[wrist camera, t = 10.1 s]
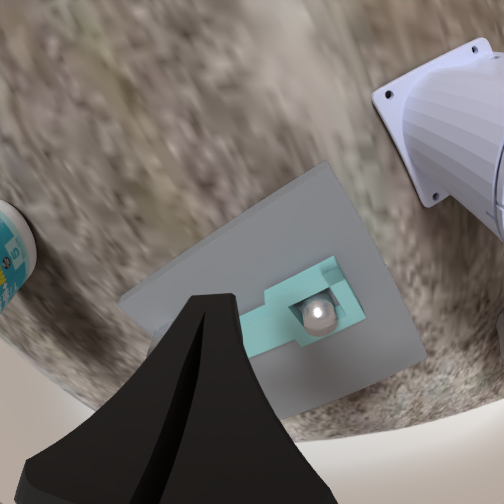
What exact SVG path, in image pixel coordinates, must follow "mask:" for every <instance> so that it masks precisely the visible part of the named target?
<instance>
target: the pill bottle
mask: <svg viewBox="0 0 504 504" xmlns="http://www.w3.org/2000/svg"><path fill="white" fill-rule="evenodd" d="M36 258H37V253H36V245H35V241H34V237H33V235H32V232H31V230H30V228H29V226H28V224H27V222H26V221H25V219H24V218H23V217H22V215H21V214H20V213H19V212H18V211H17V210H16V209H15V208H14V207H13V206H11V205H10V204H9V203H7V202H5V201H3V200H0V314H1V312H2V311H3V310H4V308H5V307H6V305H7V304H8V303H9V302H10V300H11V299H12V298H13V296H14V295H15V294H16V292H17V291H18V290H19V289H20V287H21V286H22V285H23V284H24V283H25V281H26V280H27V279H28V278H29V276H30V275H31V274H32V272H33V270H34V268H35V264H36Z"/></svg>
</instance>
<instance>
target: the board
mask: <svg viewBox="0 0 504 504" xmlns="http://www.w3.org/2000/svg"><path fill="white" fill-rule="evenodd" d="M332 256H334V257H335V259H336V260H337V262H338V264H339V266H340V267H341V269H342V271H343V273H344V274H345V276H346V278H347V280H348V281H349V283H350V285H351V287H352V289H353V290H354V292H355V294H356V296H357V298H358V299H359V301H360V303H361V305H362V307H363V310H364V313H365V316H366V319H363V320H361V321H359V322H357V323H355V324H353V325H351V326H349V327H347V328H344V329H342V330H340V331H338V332H336V333H333V334H331V335H329V336H327V337H324V338H322V339H320V340H317V341H315V342H313V343H310V344H308V345H306V346H303V347H301V346H300V345H299V343H298V342H297V341H296V340H295V339H294V340H292V341H289V342H287V343H285V344H282V345H280V346H277V347H275V348H273V349H270V350H268V351H265V352H263V353H260V354H258V355H255V356H252V357H250V358H248V359H249V361H250V363H251V366H252V368H253V371H254V373H255V375H256V377H257V380H258V382H259V384H260V386H261V388H262V390H263V392H264V394H265V396H266V398H267V400H268V401H269V403H270V405H271V407H272V409H273V410H274V412H275V414H276V416H277V417H278V419H279V420H281V419H284V418H287V417H290V416H293V415H296V414H299V413H302V412H305V411H308V410H310V409H313V408H316V407H319V406H321V405H324V404H327V403H329V402H332V401H334V400H337V399H339V398H342V397H344V396H347V395H349V394H352V393H354V392H356V391H359V390H361V389H363V388H366V387H368V386H370V385H372V384H374V383H377V382H379V381H381V380H383V379H385V378H387V377H390V376H392V375H394V374H396V373H398V372H400V371H402V370H404V369H406V368H408V367H410V366H412V365H414V364H416V363H417V362H419V361H421V360H423V359H425V358H427V357H428V356H427V353H426V351H425V348H424V346H423V344H422V341H421V339H420V337H419V334H418V332H417V330H416V327H415V325H414V323H413V321H412V318H411V316H410V314H409V312H408V309H407V307H406V305H405V303H404V301H403V299H402V297H401V294H400V292H399V290H398V288H397V286H396V284H395V282H394V280H393V278H392V276H391V274H390V272H389V270H388V268H387V266H386V264H385V262H384V260H383V258H382V256H381V254H380V252H379V251H378V249H377V247H376V245H375V243H374V241H373V239H372V237H371V236H370V234H369V232H368V230H367V228H366V226H365V225H364V223H363V221H362V219H361V218H360V216H359V214H358V212H357V210H356V209H355V207H354V205H353V204H352V202H351V200H350V198H349V197H348V195H347V193H346V192H345V190H344V188H343V187H342V185H341V183H340V182H339V180H338V178H337V177H336V175H335V174H334V172H333V170H332V169H331V167H330V166H329V164H328V163H327V161H326V160H325V161H323V162H322V163H320V164H318V165H317V166H315V167H314V168H312V169H310V170H309V171H307V172H306V173H304V174H302V175H301V176H299V177H298V178H296V179H294V180H293V181H291V182H290V183H288V184H287V185H285V186H283V187H282V188H280V189H279V190H277V191H276V192H274V193H272V194H271V195H269V196H268V197H266V198H265V199H263V200H262V201H260V202H259V203H257V204H255V205H254V206H252V207H251V208H249V209H248V210H246V211H245V212H243V213H242V214H240V215H239V216H237V217H236V218H234V219H233V220H231V221H230V222H228V223H227V224H225V225H223V226H222V227H220V228H219V229H217V230H216V231H214V232H213V233H212V234H210V235H209V236H207V237H206V238H204V239H203V240H201V241H200V242H198V243H197V244H195V245H194V246H192V247H191V248H189V249H188V250H186V251H185V252H183V253H182V254H181V255H179V256H178V257H176V258H175V259H173V260H172V261H170V262H169V263H167V264H166V265H165V266H163V267H162V268H160V269H159V270H157V271H156V272H155V273H153V274H152V275H150V276H149V277H147V278H146V279H145V280H143V281H142V282H140V283H139V284H137V285H136V286H135V287H133V288H132V289H130V290H129V291H128V292H126V293H125V294H123V295H122V297H121V299H120V301H119V303H118V305H117V306H118V307H119V308H120V309H121V310H122V311H123V312H124V313H125V314H126V315H128V316H129V317H130V318H131V319H132V320H133V321H134V322H136V323H137V324H138V325H139V326H140V327H141V328H143V329H144V330H145V331H146V332H147V333H149V334H150V335H151V336H152V337H153V334H154V331H155V329H157V328H159V327H161V326H162V325H164V324H166V323H168V322H170V321H171V320H175V319H176V317H177V316H178V314H179V313H180V311H181V310H182V308H183V307H184V305H185V304H186V302H187V301H188V299H189V298H190V297H191V296H192V295H206V294H221V293H232V294H234V295H235V296H236V301H237V306H238V312H239V316H241V315H244V314H246V313H248V312H250V311H252V310H254V309H256V308H259V307H261V306H263V305H265V296H264V291H265V290H267V289H269V288H271V287H273V286H275V285H277V284H279V283H281V282H283V281H285V280H287V279H289V278H291V277H293V276H295V275H297V274H299V273H301V272H303V271H305V270H307V269H308V268H310V267H312V266H314V265H316V264H318V263H320V262H322V261H324V260H326V259H328V258H330V257H332ZM328 289H329V291H330V294H331V298H332V301H333V305H334V308H335V307H337V306H339V305H340V303H339V301H338V300H337V298H336V297H335V295H334V293H333V292H332V290H331V289H330V287H328ZM294 305H295V306H296V308H297V309H298V310H299V312H300V313H301V314H302V308H301V301H299V302H297V303H295V304H294ZM302 316H303V315H302Z"/></svg>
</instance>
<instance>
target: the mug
mask: <svg viewBox="0 0 504 504" xmlns="http://www.w3.org/2000/svg"><path fill="white" fill-rule="evenodd" d="M496 328H497V331H498V336H499V346H500V353H501V358H502V362H503V366H504V309H503V310H502V312H501V313H500V315H499V317H498V319H497V323H496Z"/></svg>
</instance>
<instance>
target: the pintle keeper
mask: <svg viewBox="0 0 504 504" xmlns="http://www.w3.org/2000/svg"><path fill="white" fill-rule="evenodd" d="M301 308H302V315H303V322H304V328H305V331H306V332H307V333H308V334H309V335H311V336H315V337H322V336H326V335H328V334H330V333H332V332H333V331H334V330H335V329H336V327H337V325H338V321H337V317H336V313H335V309H334V305H333V301H332V298H331V294H330V291H329V289H328V288H326V289H324V290H322V291H320V292H318V293H316V294H314V295H312V296H310V297H308V298H305V299H303V300H301ZM173 322H174V320H171V321H170V322H168V323H166V324H164V325H162V326H161V327H159V328H157V329H155V331H154V334H153V337H152V341H151V344H150V347H149V350H148V353H147V356H146V357H148V356H149V355H150V353H151V352H152V351H153V349H154V348H155V347H156V346H157V344H158V343H159V341H160V340H161V339H162V337H163V336H164V334H165V333H166V332H167V330H168V329H169V327H170V326H171V325H172V323H173Z"/></svg>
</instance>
